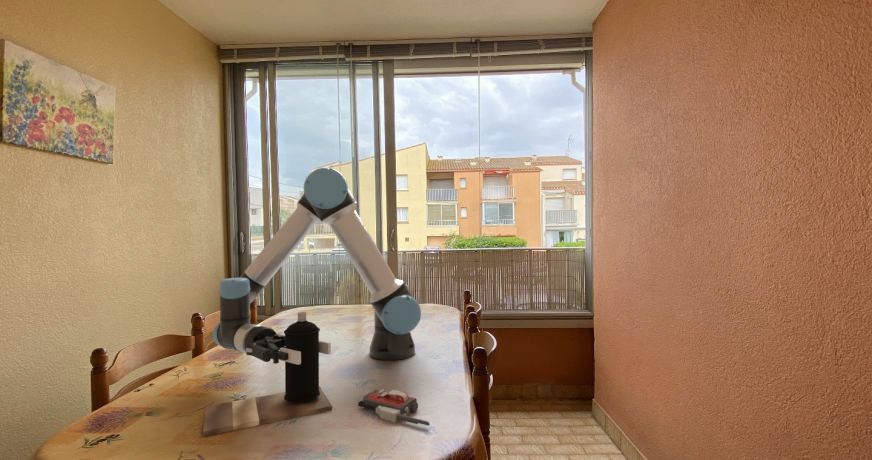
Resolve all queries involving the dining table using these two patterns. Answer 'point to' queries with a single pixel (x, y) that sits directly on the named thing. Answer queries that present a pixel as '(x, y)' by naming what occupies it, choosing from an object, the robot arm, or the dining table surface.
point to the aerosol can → (302, 361)
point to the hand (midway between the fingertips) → (315, 353)
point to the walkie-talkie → (391, 406)
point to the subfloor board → (259, 412)
